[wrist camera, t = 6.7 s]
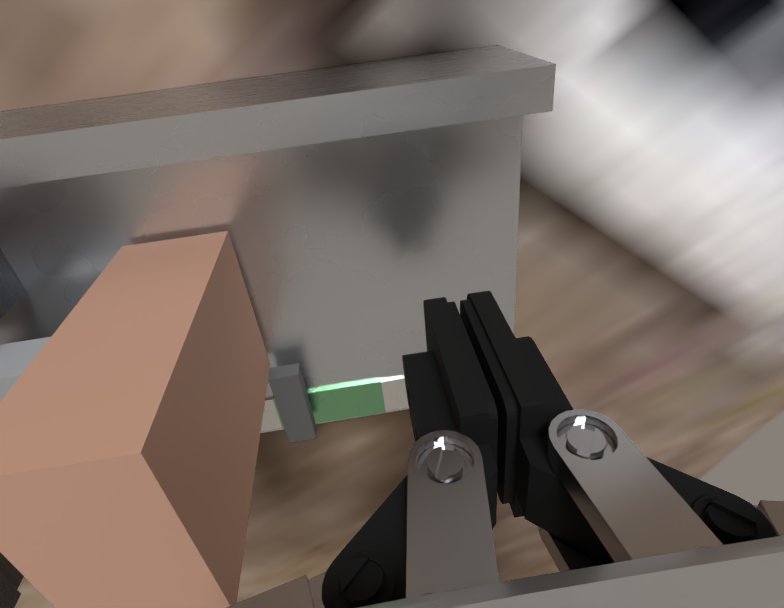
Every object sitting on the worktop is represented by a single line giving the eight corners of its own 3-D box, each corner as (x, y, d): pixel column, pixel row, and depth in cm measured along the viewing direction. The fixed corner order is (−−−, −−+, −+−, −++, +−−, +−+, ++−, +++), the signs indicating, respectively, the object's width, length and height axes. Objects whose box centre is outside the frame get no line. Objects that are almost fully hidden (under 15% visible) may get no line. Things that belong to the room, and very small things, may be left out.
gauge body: (497, 45, 15) (706, 113, 7) (493, 354, 21) (596, 575, 13) (-121, 127, 14) (-724, 316, 6) (74, 421, 21) (-87, 698, 13)
